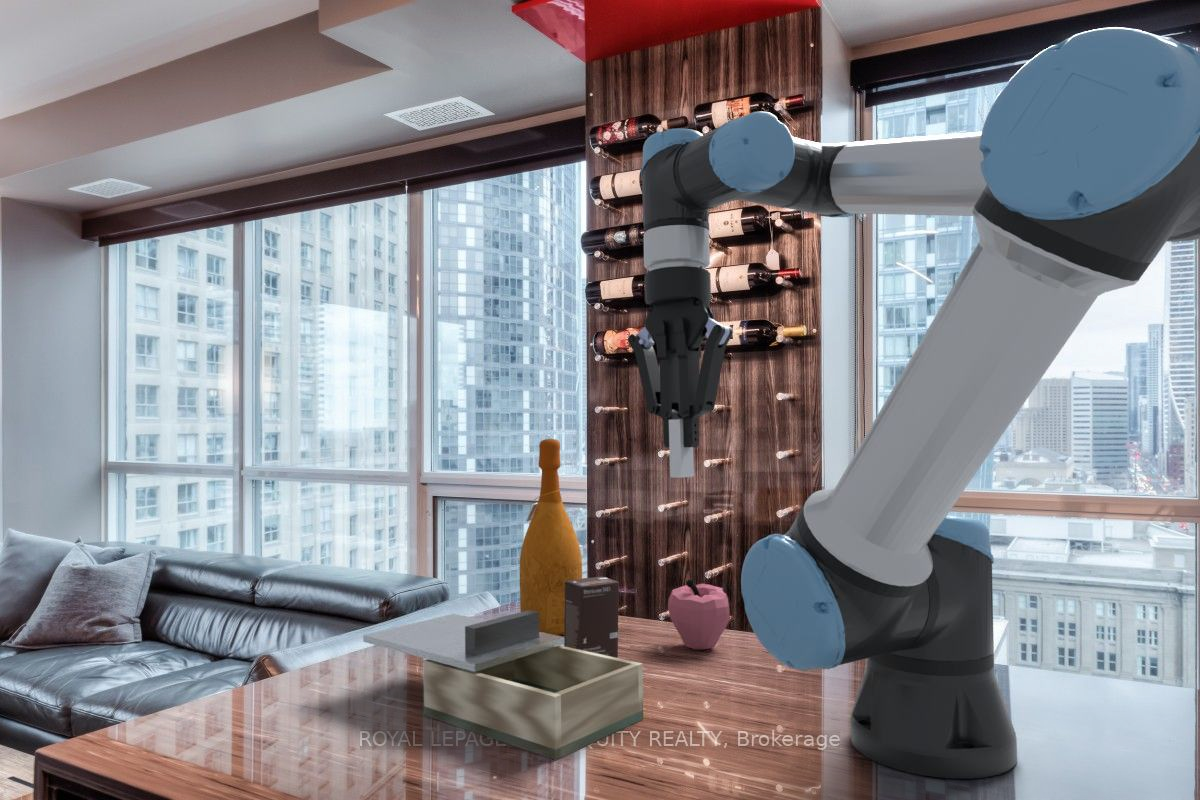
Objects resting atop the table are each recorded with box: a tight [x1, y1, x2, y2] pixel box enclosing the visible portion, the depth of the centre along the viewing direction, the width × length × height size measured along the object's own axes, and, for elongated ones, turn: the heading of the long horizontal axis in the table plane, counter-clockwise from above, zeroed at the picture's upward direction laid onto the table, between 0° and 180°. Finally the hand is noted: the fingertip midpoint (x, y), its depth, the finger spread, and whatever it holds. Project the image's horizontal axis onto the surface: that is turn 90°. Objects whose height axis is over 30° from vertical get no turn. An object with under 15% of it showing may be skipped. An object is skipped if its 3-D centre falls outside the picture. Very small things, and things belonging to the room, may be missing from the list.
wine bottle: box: [519, 438, 583, 636], centre depth 130 cm, size 10×10×30 cm
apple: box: [667, 579, 731, 651], centre depth 118 cm, size 10×9×10 cm
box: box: [563, 576, 620, 658], centre depth 106 cm, size 6×4×12 cm
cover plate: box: [362, 610, 564, 672], centre depth 98 cm, size 20×14×4 cm
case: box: [423, 645, 644, 761], centre depth 91 cm, size 20×14×6 cm
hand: (682, 476), depth 93 cm, fingers closed
